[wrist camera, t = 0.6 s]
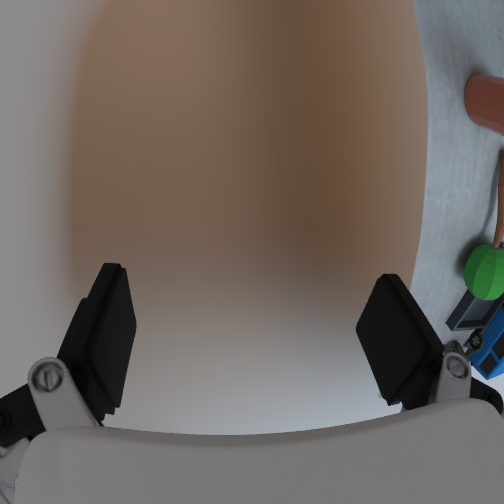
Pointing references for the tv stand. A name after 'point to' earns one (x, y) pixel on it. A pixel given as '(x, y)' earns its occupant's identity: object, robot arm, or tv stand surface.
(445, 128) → the tv stand surface
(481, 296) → the tree
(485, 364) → the toy car
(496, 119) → the terracotta pot
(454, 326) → the tray
